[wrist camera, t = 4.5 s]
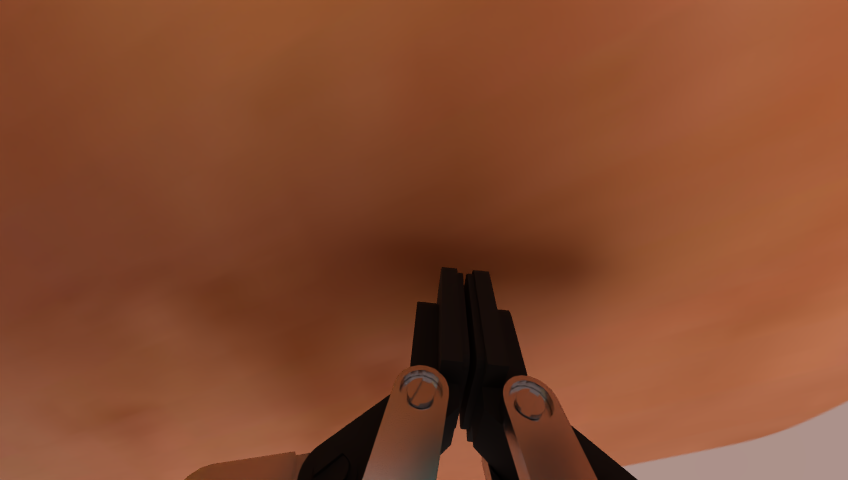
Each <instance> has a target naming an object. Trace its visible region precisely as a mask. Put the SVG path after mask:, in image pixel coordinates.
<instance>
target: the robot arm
mask: <svg viewBox="0 0 848 480" xmlns="http://www.w3.org/2000/svg"><path fill="white" fill-rule="evenodd" d="M459 414H460V428H461V429H466V431H467V441H469V442H473V447H474V448H475V449H476V450H477V451H478V453H479V454H480V455H481V456H482V466H483V471H484V475H485V479H486V480H637V479H636V478H635V477H634V476H632V475H631V474H630V473H629V472H628V471H626V470H625V469H624V468H623V467H621V466H620V465H619V464H618V463H617V462H615V461H614V460H613V459H612V458H610V457H609V456H608V455H607V454H606V453H604V452H603V451H602V450H601V449H599V448H598V447H597V446H596V445H595V444H593V443H592V442H591V441H590V440H588V439H587V438H586V437H585V436H584V435H582V434H581V433H580V432H579V431H577V430H576V429H575V428H574V427H573V426H571V425H570V423H569V421H568V419H567V417H566V415H565V413H564V411H563V409H562V407H561V405H560V403H559V401H558V399H557V397H556V396H555V394H554V393H553V391H552V390H551V389H550V388H549V387H548V386H547V385H546V384H544V383H543V382H541V381H540V380H538V379H536V378H533V377H530V376H527V372H526V368H525V365H524V361H523V357H522V354H521V350H520V346H519V342H518V339H517V335H516V331H515V328H514V324H513V320H512V317H511V314H510V312H509V311H508V310H497V306H496V301H495V297H494V292H493V288H492V283H491V279H490V274H489V272H486V271H476V270H473V271H472V274H467V275H466V279H465V285H464V283H463V274H462V273H457V269H455V268H445V267H442V268H441V275H440V283H439V290H438V298H437V304H436V303H426V302H417V310H416V319H415V328H414V337H413V346H412V355H411V364H410V367H409V368H407V369H405V370H403V371H402V372H401V373H400V374H399V375H398V377H397V378H396V380H395V382H394V385H393V388H392V391H391V394H390V395H389V396H387V397H386V398H384V399H383V400H382V401H380V402H379V403H377V404H376V405H375V406H373V407H372V408H371V409H369V410H368V411H366V412H365V413H364V414H362V415H361V416H359V417H358V418H357V419H355V420H354V421H352V422H351V423H350V424H348V425H347V426H345V427H344V428H343V429H341V430H340V431H338V432H337V433H336V434H334V435H333V436H332V437H330V438H329V439H327V440H326V441H325V442H323V443H322V444H320V445H319V446H318V447H316V448H315V449H314V450H313V451H312V452H311V453H307V454H301V455H296V453H295V452H289V453H282V454H275V455H269V456H262V457H256V458H249V459H243V460H236V461H229V462H223V463H216V464H211V465H208V466H205V467H202V468H200V469H198V470H197V471H195V472H194V473H192V474H191V475H189V476H188V477H187V478H186V479H185V480H436V479H437V472H438V465H439V459H440V455H441V454H442V453H443V452H444V451H445V450H446V449H447V448H448V447H449V446H450V445H451V442H452V437H453V433H454V428H456V424H457V420H458V416H459Z"/></svg>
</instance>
